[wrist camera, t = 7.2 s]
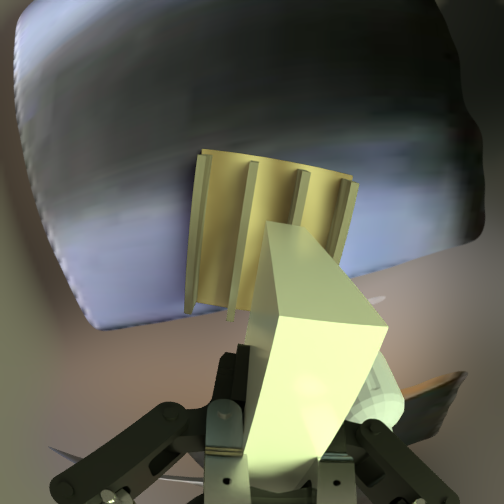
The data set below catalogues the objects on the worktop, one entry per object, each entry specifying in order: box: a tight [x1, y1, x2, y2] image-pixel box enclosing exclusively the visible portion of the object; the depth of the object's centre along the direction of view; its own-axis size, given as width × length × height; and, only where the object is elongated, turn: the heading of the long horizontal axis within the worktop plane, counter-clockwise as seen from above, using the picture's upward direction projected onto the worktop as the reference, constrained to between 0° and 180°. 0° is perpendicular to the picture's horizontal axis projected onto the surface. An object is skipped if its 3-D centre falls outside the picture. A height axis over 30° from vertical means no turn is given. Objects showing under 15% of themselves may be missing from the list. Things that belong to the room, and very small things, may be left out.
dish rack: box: [184, 149, 359, 322], centre depth 29 cm, size 16×18×4 cm
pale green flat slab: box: [242, 221, 388, 493], centre depth 13 cm, size 2×12×12 cm, turn 171°
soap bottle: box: [345, 352, 404, 432], centre depth 27 cm, size 9×9×25 cm
